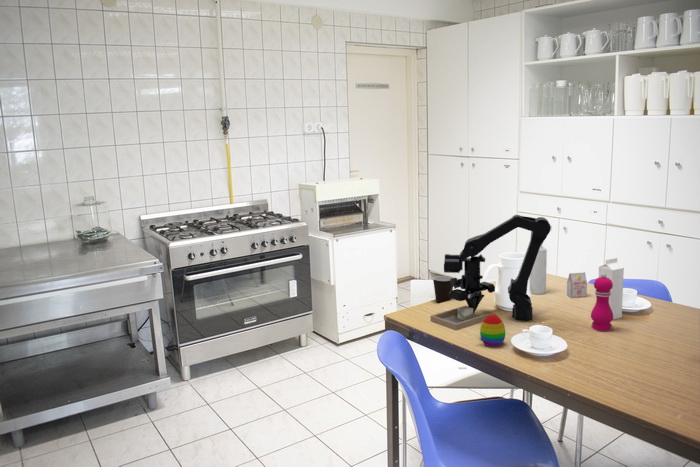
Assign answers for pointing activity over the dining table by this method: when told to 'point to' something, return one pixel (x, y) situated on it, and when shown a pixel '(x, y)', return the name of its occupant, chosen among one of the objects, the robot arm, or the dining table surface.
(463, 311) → the block
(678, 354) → the dining table surface
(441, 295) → the coffee mug
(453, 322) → the brown rectangular tray
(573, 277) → the printed paper bag
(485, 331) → the decorative egg
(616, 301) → the milk
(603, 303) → the pepper mill
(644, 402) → the dining table surface
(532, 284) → the grey bottle
